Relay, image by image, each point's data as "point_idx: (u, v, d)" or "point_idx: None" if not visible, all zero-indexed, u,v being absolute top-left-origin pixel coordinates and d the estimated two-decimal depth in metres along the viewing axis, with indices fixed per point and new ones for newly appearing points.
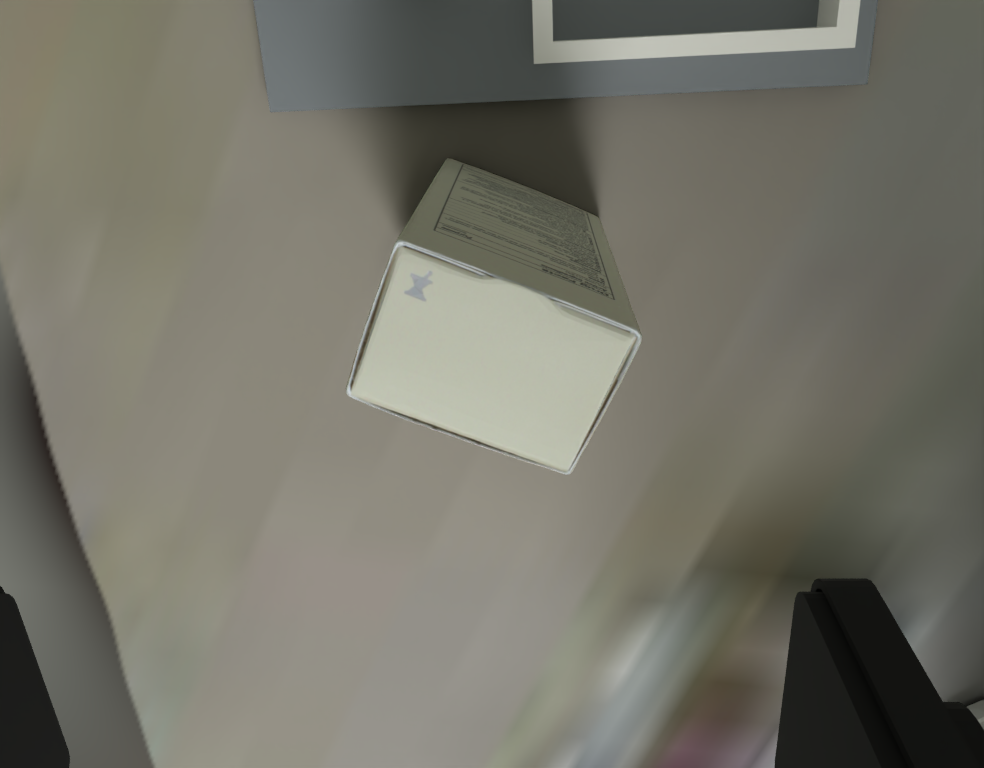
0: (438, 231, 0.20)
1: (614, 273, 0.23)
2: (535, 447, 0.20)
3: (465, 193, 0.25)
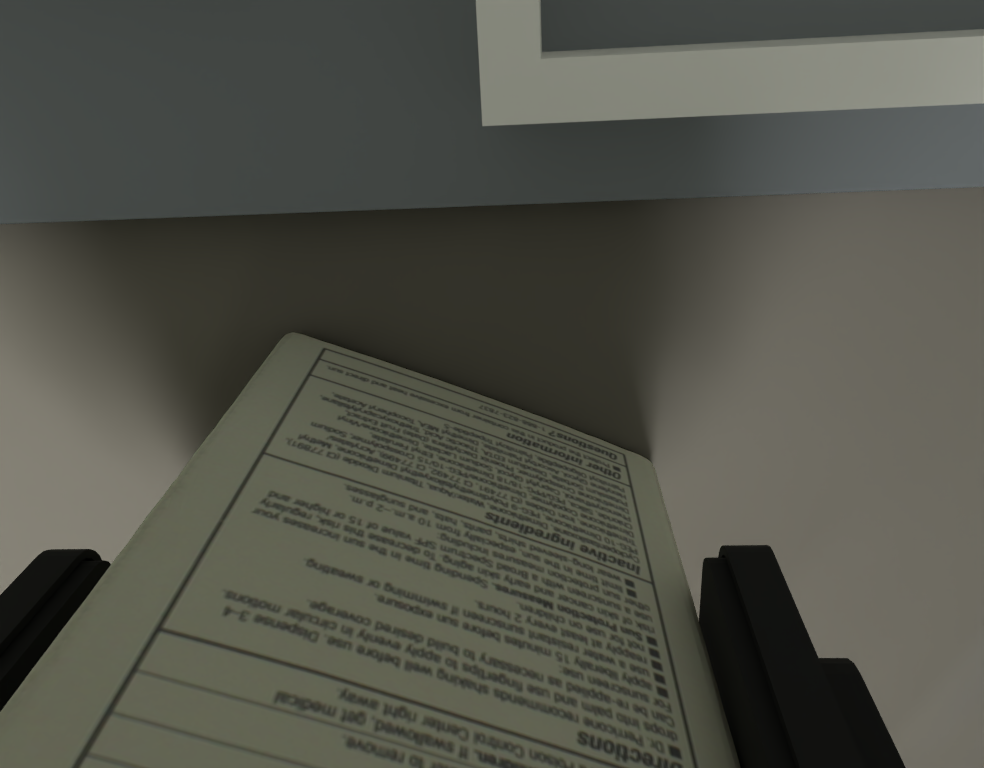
0: None
1: None
2: None
3: (260, 544, 0.08)
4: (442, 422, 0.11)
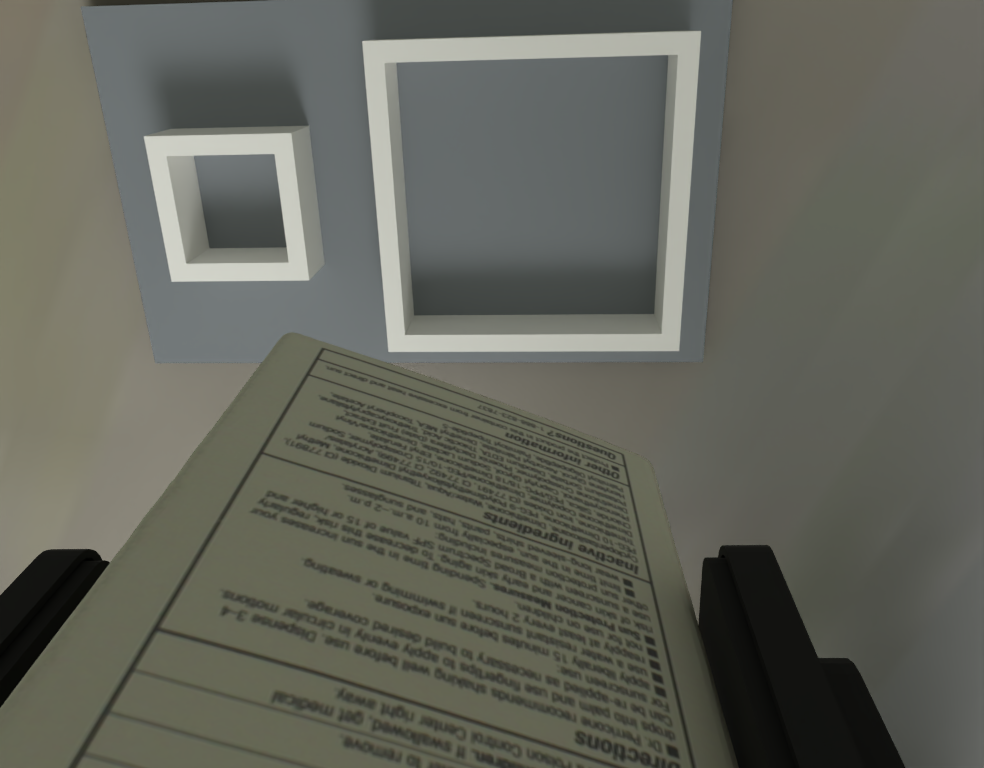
0: None
1: None
2: None
3: (257, 544, 0.08)
4: (440, 422, 0.11)
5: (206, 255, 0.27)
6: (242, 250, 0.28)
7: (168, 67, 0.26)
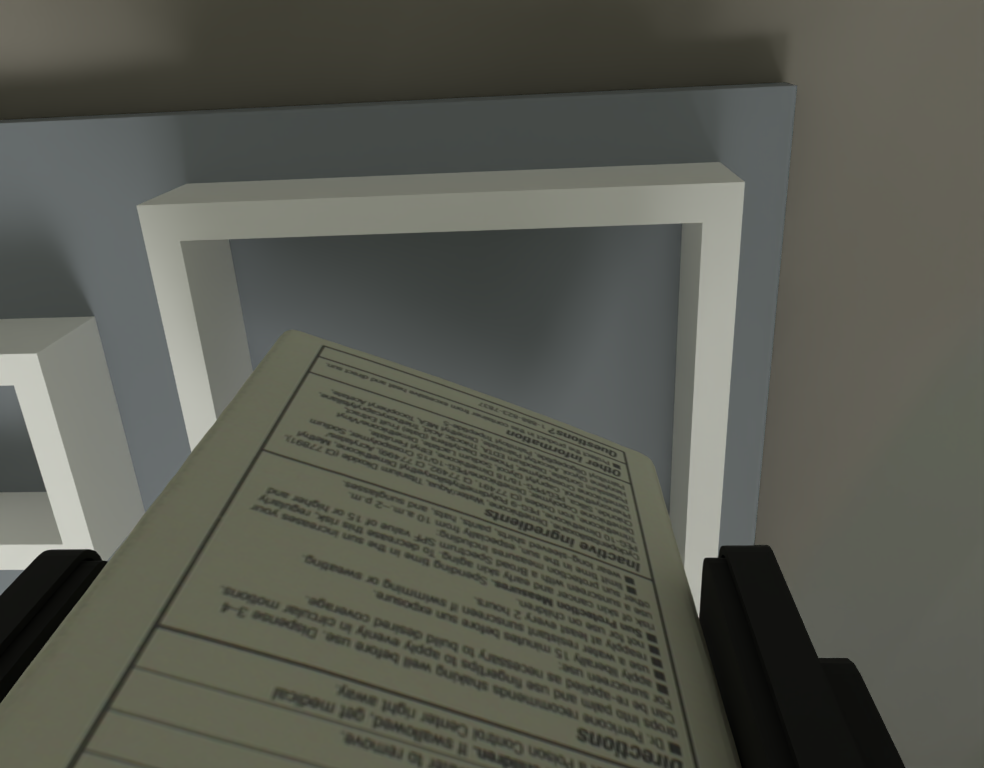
0: None
1: None
2: None
3: (258, 541, 0.08)
4: (441, 419, 0.11)
5: None
6: (12, 500, 0.18)
7: None
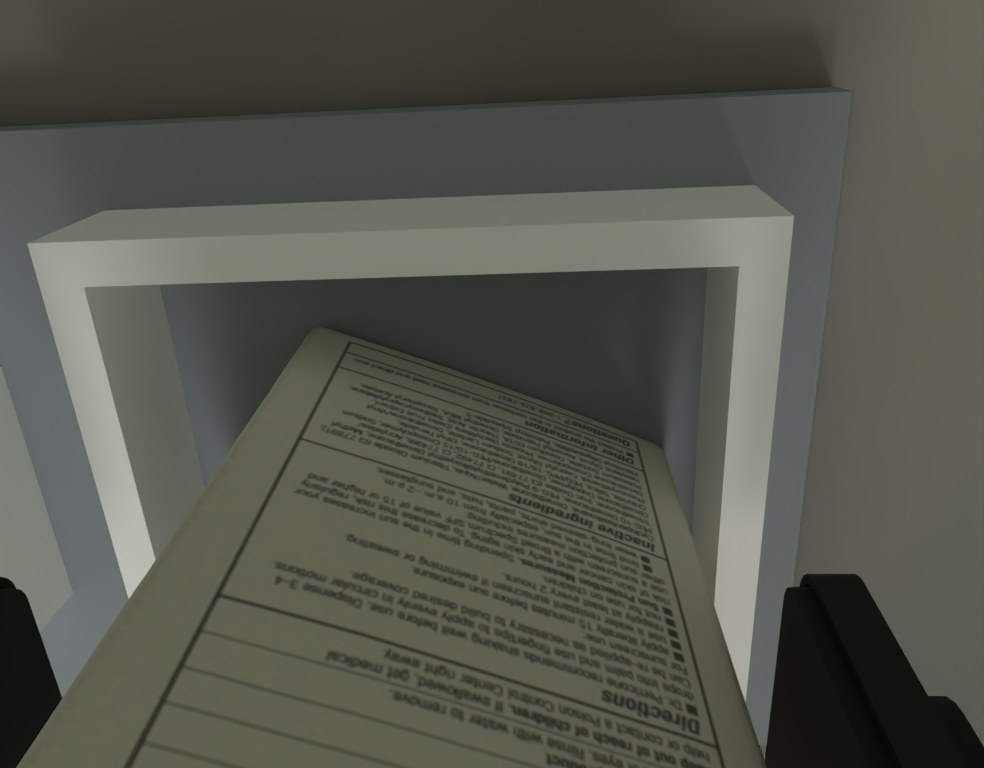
0: None
1: None
2: None
3: (303, 521, 0.08)
4: (464, 411, 0.12)
5: None
6: None
7: None
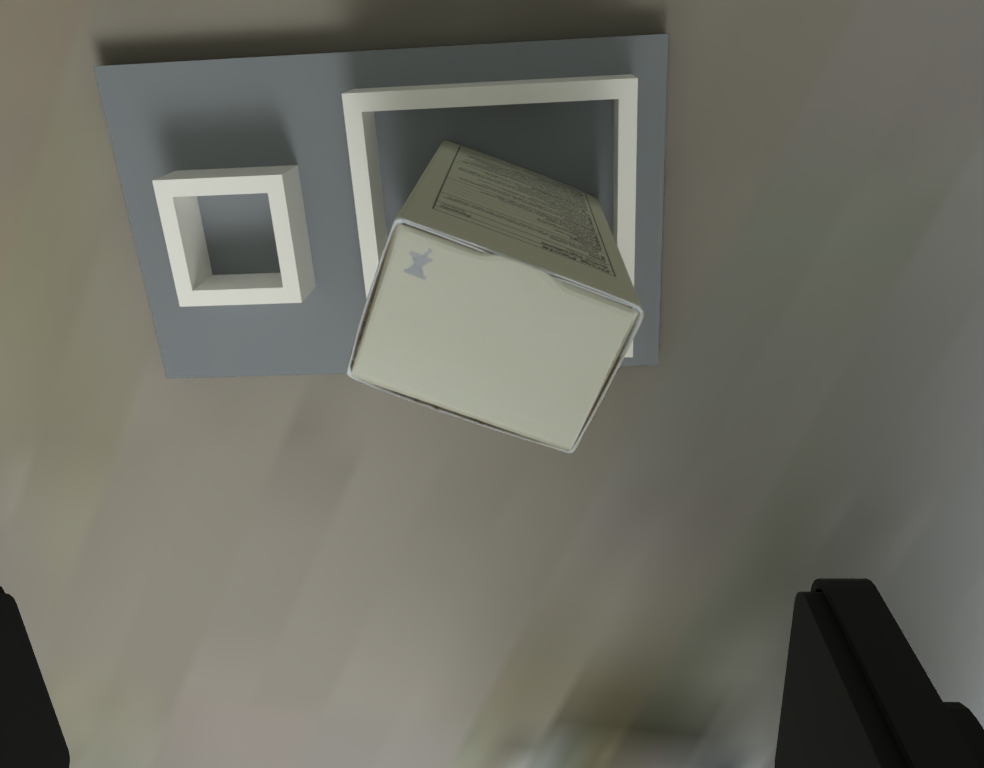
0: (436, 209, 0.20)
1: (614, 251, 0.23)
2: (538, 426, 0.20)
3: (463, 174, 0.24)
4: (511, 169, 0.28)
5: (210, 282, 0.31)
6: (242, 276, 0.31)
7: (171, 117, 0.29)
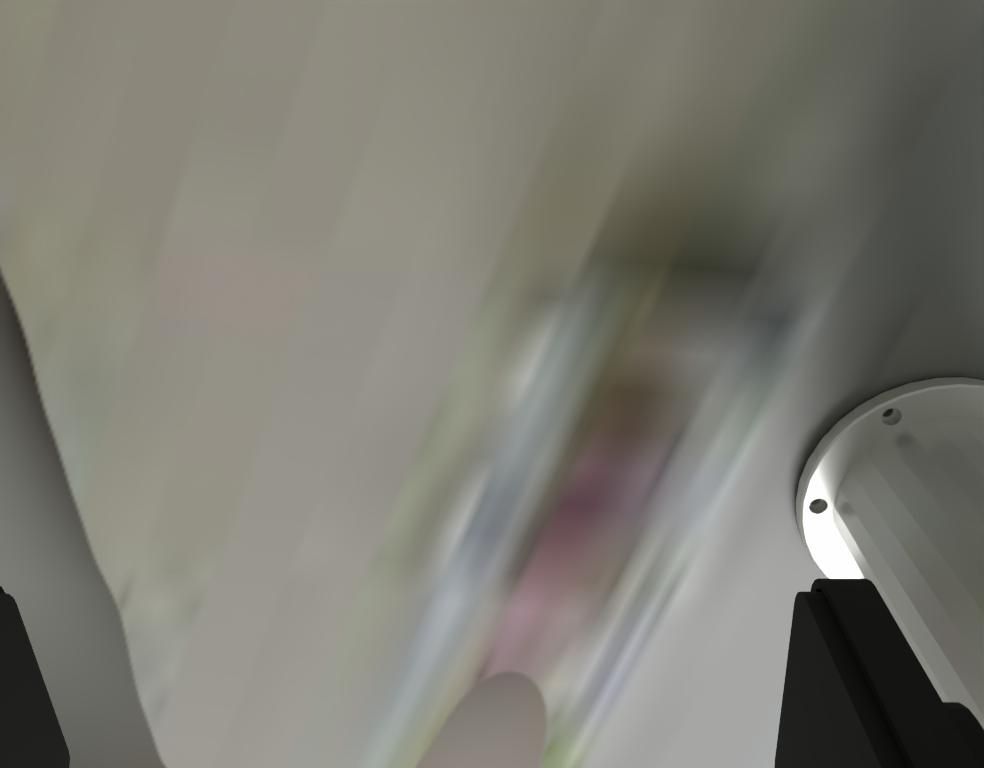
0: None
1: None
2: None
3: None
4: None
5: None
6: None
7: None
